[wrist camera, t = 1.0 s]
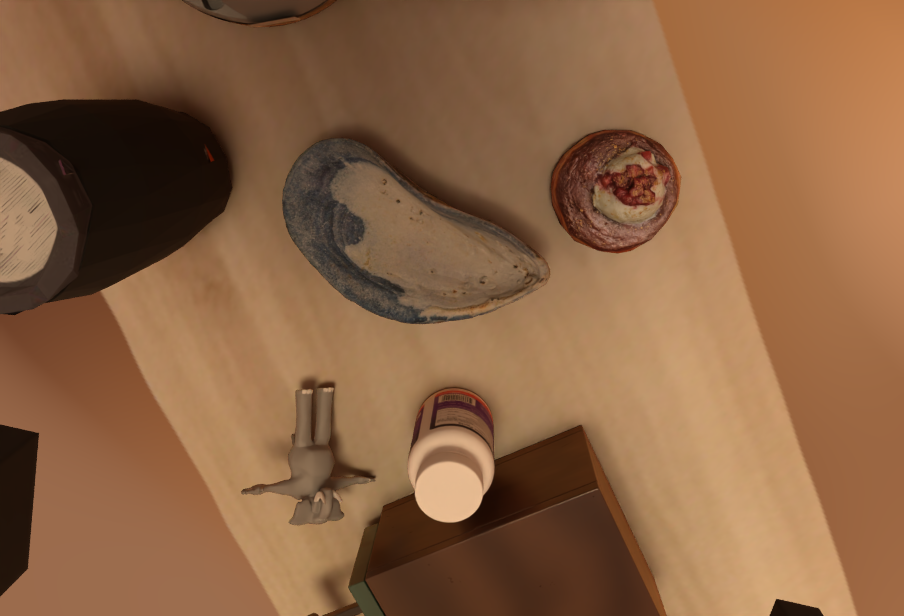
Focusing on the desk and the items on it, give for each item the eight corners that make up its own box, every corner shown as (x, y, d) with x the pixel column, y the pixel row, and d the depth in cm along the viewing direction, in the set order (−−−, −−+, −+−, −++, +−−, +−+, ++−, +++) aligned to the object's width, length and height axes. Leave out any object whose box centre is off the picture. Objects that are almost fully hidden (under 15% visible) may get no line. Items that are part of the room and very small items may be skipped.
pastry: (692, 144, 47) (714, 154, 42) (656, 259, 49) (673, 281, 44) (566, 115, 46) (573, 122, 42) (536, 232, 49) (540, 251, 44)
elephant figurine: (399, 388, 52) (396, 520, 52) (353, 385, 57) (350, 507, 56) (266, 389, 46) (261, 540, 45) (226, 386, 51) (220, 523, 50)
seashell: (512, 94, 47) (515, 94, 42) (551, 286, 50) (557, 307, 45) (277, 150, 48) (253, 156, 43) (329, 332, 51) (313, 357, 47)
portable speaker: (237, 100, 47) (74, 109, 29) (242, 247, 50) (95, 342, 31) (103, 94, 48) (-146, 98, 29) (115, 240, 50) (-107, 330, 32)
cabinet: (463, 649, 58) (459, 741, 50) (382, 506, 55) (364, 579, 47) (654, 578, 56) (683, 664, 47) (581, 424, 52) (598, 487, 44)
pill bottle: (452, 470, 54) (445, 550, 45) (401, 418, 53) (382, 488, 44) (509, 425, 53) (514, 497, 43) (458, 370, 52) (451, 432, 42)
